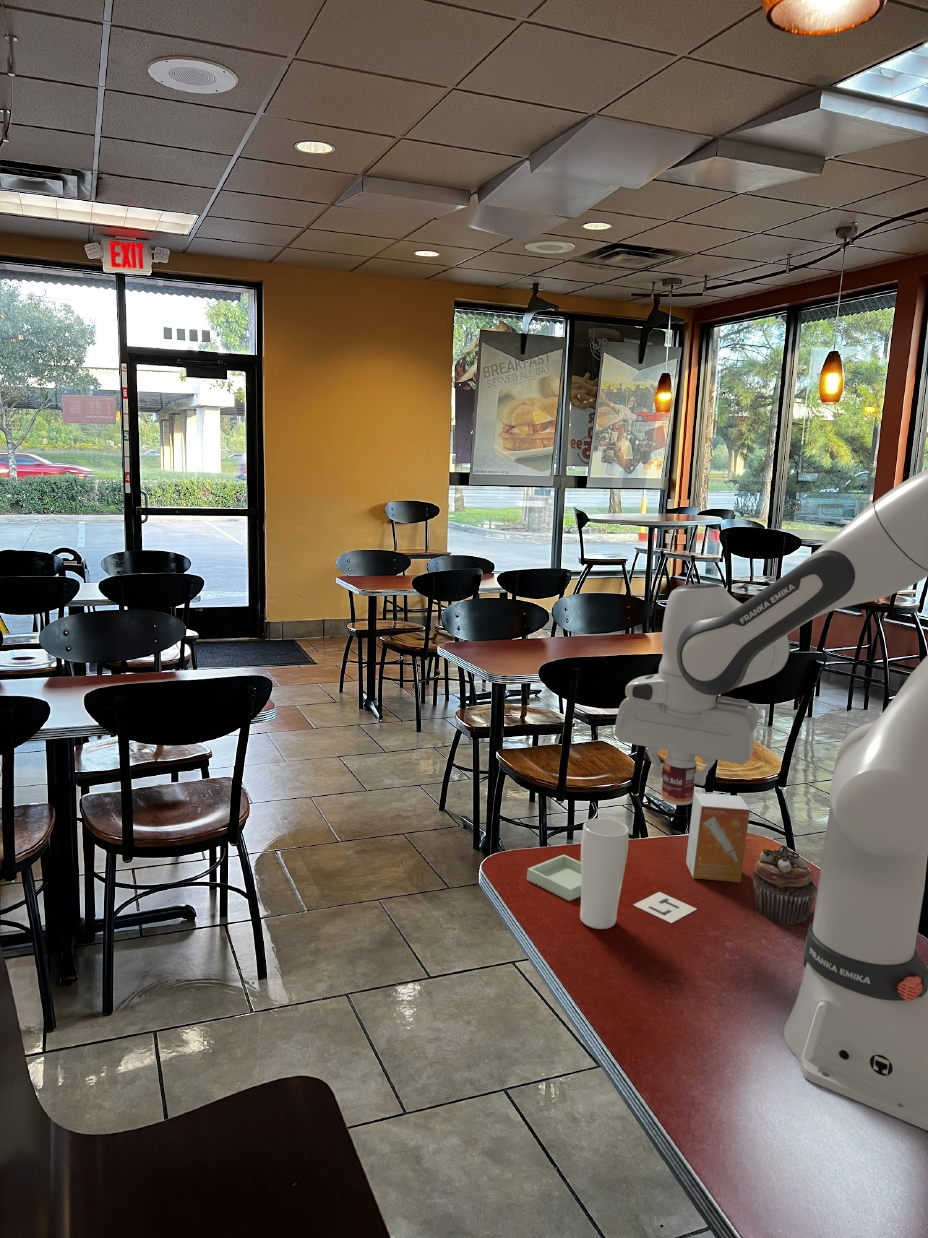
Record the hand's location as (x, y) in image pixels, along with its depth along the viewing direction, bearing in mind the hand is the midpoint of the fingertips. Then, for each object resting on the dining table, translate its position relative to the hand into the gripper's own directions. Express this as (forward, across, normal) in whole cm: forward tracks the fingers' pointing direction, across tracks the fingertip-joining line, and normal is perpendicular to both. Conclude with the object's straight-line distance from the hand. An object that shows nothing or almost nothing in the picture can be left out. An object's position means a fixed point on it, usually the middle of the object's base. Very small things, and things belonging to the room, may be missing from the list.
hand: (678, 779), depth 138 cm
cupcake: (+21, -16, -9) cm, 28 cm away
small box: (+21, -4, -17) cm, 27 cm away
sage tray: (+21, +16, 0) cm, 26 cm away
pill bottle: (+3, 0, 0) cm, 3 cm away
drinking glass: (+21, +8, +10) cm, 25 cm away
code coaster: (+21, 0, 0) cm, 21 cm away
